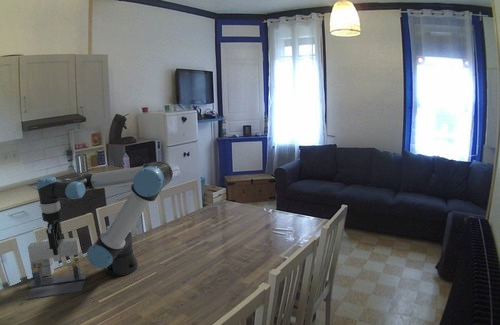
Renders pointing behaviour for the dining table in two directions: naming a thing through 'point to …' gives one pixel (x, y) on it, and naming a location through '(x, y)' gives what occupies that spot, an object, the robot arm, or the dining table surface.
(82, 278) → the stand
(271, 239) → the dining table surface
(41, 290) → the mat
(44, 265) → the ink box
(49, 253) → the rail
